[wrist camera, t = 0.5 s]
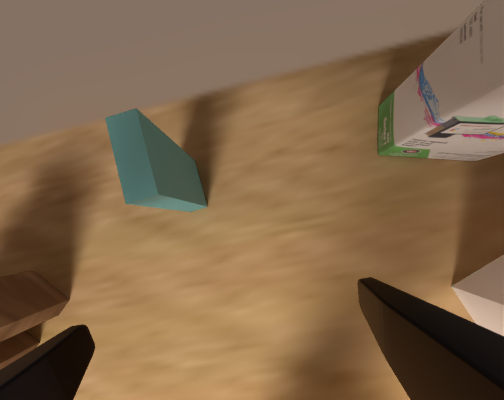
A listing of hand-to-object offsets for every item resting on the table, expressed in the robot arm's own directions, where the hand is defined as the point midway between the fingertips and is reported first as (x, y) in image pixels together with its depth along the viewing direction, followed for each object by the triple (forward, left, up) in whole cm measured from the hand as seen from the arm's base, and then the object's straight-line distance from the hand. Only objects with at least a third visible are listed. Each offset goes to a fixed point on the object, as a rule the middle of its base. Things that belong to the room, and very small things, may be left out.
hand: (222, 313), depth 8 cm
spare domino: (+6, +4, -13) cm, 15 cm away
